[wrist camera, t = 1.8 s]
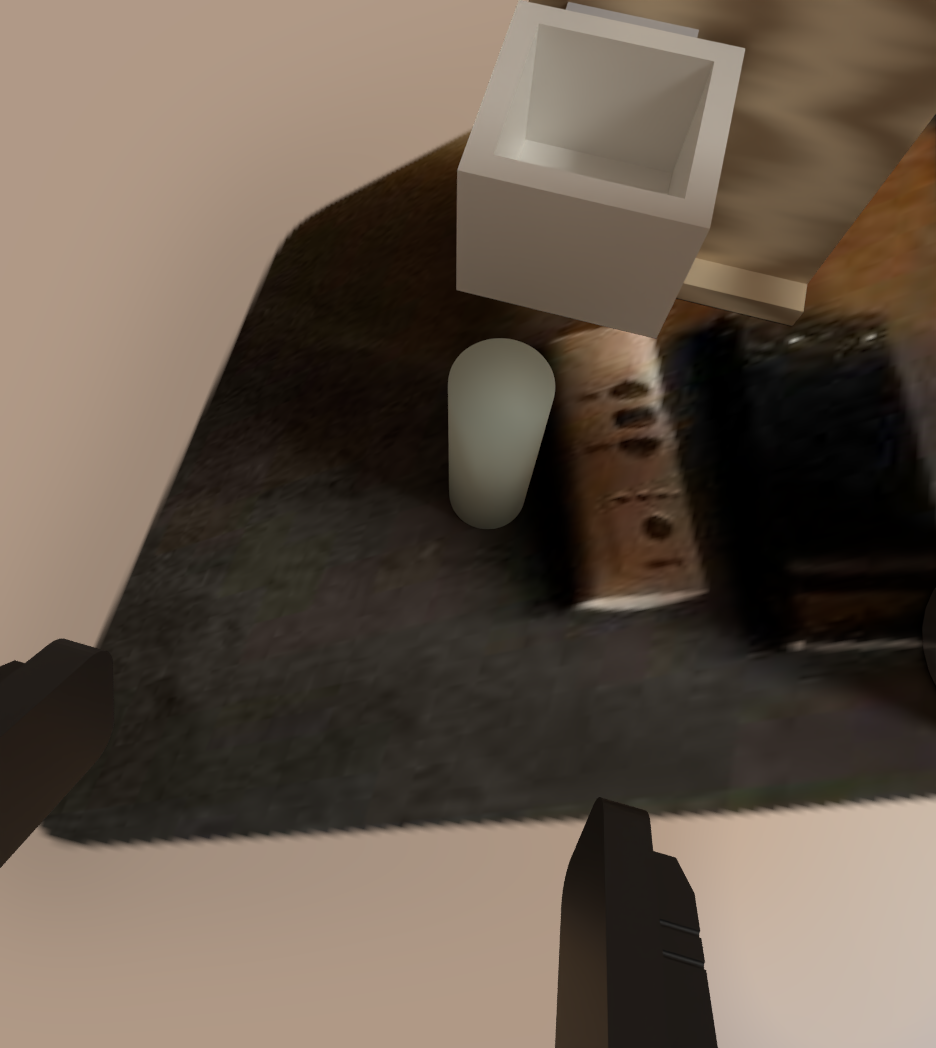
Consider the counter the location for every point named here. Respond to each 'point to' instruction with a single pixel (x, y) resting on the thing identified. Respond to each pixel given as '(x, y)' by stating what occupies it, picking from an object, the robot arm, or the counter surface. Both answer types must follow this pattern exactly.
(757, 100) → the oak board
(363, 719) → the counter surface
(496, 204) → the grey open box
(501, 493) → the pale green rounded cylinder
